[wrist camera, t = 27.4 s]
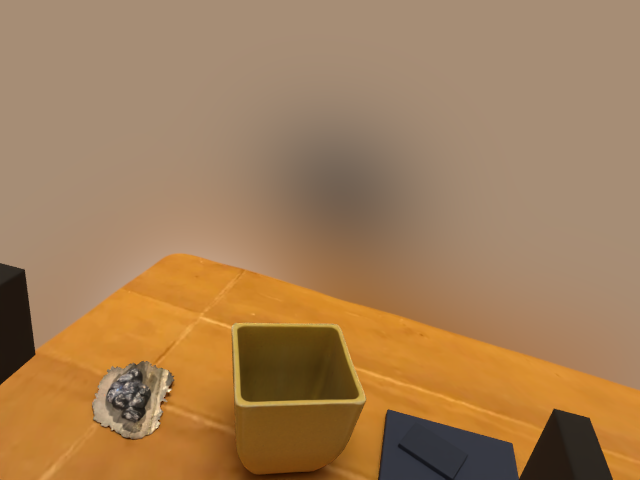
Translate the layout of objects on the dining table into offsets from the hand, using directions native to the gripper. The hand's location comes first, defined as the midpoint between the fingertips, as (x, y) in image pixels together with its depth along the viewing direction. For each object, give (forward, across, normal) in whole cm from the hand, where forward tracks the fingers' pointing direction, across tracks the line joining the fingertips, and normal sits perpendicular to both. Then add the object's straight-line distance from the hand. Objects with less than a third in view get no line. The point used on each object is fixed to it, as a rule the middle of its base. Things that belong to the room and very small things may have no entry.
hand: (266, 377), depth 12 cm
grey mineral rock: (+19, -15, -24) cm, 34 cm away
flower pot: (+19, -2, -24) cm, 31 cm away
